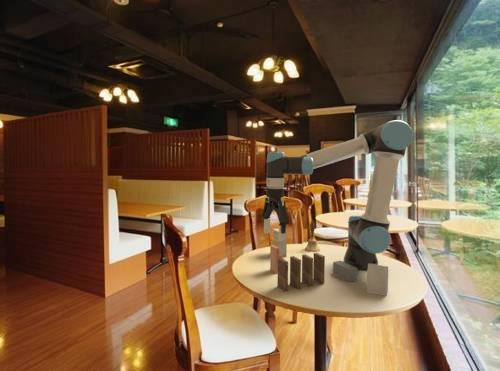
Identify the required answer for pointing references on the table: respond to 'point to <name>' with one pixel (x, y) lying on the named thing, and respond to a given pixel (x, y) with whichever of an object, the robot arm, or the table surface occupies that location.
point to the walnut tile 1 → (282, 274)
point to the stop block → (345, 271)
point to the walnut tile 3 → (307, 270)
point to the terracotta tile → (274, 258)
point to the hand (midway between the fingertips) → (274, 236)
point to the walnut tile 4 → (318, 268)
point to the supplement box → (280, 243)
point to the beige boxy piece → (377, 279)
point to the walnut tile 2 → (295, 272)
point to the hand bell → (312, 240)
